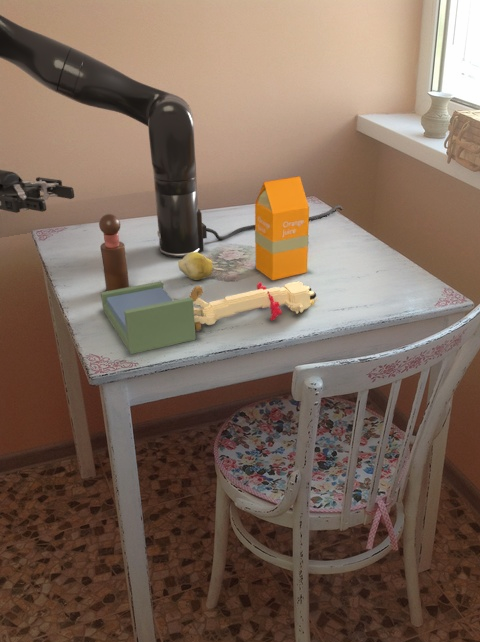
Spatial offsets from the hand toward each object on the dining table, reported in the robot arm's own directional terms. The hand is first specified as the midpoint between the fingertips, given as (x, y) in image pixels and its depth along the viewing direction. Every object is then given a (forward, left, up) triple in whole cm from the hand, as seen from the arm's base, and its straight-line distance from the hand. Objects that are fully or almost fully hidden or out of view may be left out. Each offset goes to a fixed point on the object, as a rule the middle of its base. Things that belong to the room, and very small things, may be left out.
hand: (59, 199), depth 137 cm
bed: (-8, +25, -18) cm, 32 cm away
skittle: (-7, +9, -18) cm, 21 cm away
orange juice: (-42, +13, -18) cm, 48 cm away
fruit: (-25, +9, -18) cm, 32 cm away
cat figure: (-28, +30, -18) cm, 45 cm away
